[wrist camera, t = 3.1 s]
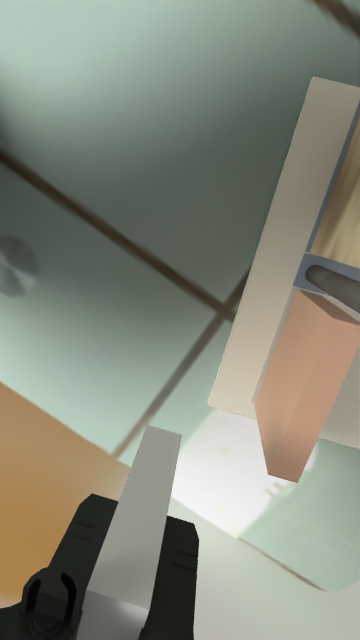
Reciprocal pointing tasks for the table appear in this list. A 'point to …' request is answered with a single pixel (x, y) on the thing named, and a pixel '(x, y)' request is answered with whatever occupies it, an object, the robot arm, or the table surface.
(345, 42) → the table surface
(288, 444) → the hinged fence panel
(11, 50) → the table surface
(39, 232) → the table surface
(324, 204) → the card
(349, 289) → the fixed fence panel
